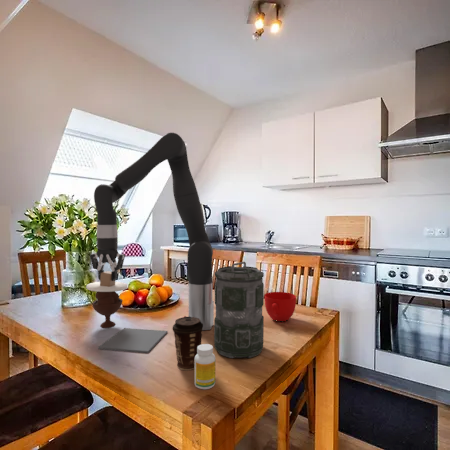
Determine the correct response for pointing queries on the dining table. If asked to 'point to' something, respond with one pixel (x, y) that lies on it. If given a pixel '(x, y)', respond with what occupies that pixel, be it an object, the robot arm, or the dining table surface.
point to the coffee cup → (187, 340)
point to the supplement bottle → (204, 367)
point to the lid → (106, 284)
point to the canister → (239, 311)
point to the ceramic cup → (280, 305)
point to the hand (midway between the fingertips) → (107, 280)
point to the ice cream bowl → (107, 306)
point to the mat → (134, 340)
